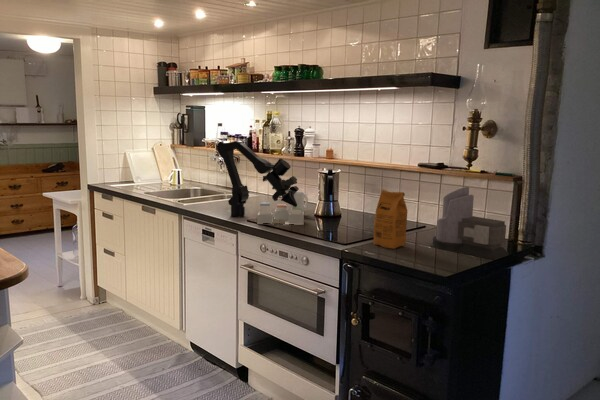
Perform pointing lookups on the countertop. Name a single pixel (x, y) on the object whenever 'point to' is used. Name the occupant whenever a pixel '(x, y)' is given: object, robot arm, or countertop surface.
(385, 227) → the coffee package
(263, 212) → the key slate
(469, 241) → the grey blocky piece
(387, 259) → the countertop surface
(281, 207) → the key terracotta
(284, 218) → the keypad
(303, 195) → the mug
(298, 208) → the key sage
